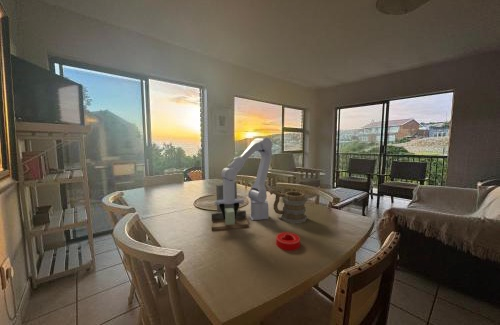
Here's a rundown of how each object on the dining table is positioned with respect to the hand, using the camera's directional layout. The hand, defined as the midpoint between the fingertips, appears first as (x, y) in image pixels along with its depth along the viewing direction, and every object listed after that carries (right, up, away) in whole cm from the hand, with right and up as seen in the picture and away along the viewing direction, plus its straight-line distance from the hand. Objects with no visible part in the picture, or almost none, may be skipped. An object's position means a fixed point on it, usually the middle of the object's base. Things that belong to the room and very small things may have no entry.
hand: (229, 217), depth 103 cm
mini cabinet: (0, -2, 0) cm, 2 cm away
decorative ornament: (+26, -6, -20) cm, 33 cm away
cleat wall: (0, -3, +1) cm, 4 cm away
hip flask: (-4, -2, +20) cm, 20 cm away
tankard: (+31, -3, +9) cm, 32 cm away
